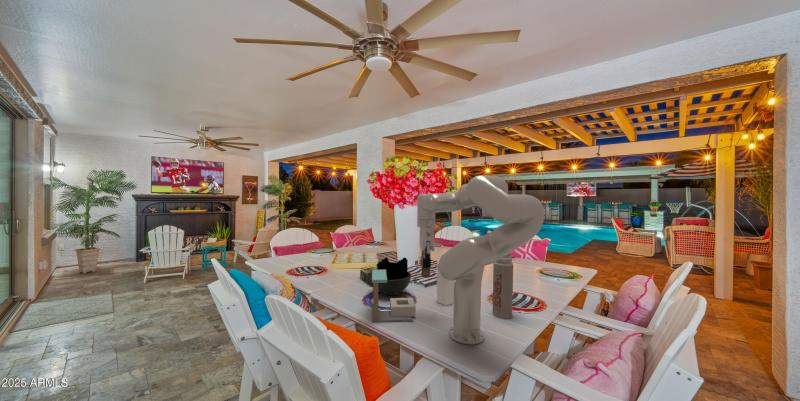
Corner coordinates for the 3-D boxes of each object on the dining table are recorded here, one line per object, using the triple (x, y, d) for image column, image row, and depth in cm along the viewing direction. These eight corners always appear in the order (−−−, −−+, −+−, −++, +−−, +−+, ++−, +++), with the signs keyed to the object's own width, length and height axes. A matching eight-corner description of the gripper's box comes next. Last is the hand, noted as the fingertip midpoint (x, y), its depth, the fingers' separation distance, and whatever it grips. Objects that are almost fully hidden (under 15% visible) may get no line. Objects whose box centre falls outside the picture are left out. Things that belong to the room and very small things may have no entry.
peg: (430, 277, 122) (431, 248, 122) (422, 277, 122) (422, 248, 121) (429, 274, 126) (429, 247, 125) (420, 275, 125) (421, 247, 125)
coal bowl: (363, 296, 145) (364, 259, 144) (383, 285, 163) (383, 251, 162) (400, 304, 136) (400, 263, 135) (416, 290, 154) (417, 255, 153)
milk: (445, 306, 134) (446, 258, 133) (436, 301, 139) (436, 255, 138) (454, 302, 138) (455, 256, 137) (445, 299, 143) (446, 254, 142)
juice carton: (358, 278, 176) (358, 267, 176) (373, 276, 181) (373, 266, 181) (371, 288, 159) (372, 277, 159) (388, 285, 164) (388, 274, 163)
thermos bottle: (501, 319, 120) (502, 252, 119) (488, 312, 127) (489, 248, 126) (516, 317, 123) (517, 250, 122) (503, 309, 130) (504, 247, 129)
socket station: (416, 321, 118) (416, 279, 117) (371, 322, 117) (371, 280, 116) (411, 305, 134) (412, 268, 133) (372, 306, 133) (372, 269, 132)
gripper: (439, 225, 115) (438, 271, 116) (431, 221, 132) (431, 261, 132) (420, 225, 114) (420, 272, 115) (414, 221, 131) (414, 261, 132)
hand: (425, 266), depth 124 cm, fingers closed on peg, 3 cm apart
